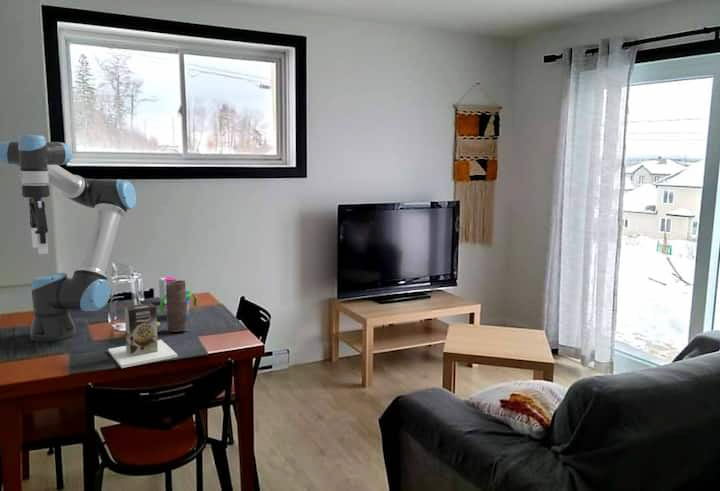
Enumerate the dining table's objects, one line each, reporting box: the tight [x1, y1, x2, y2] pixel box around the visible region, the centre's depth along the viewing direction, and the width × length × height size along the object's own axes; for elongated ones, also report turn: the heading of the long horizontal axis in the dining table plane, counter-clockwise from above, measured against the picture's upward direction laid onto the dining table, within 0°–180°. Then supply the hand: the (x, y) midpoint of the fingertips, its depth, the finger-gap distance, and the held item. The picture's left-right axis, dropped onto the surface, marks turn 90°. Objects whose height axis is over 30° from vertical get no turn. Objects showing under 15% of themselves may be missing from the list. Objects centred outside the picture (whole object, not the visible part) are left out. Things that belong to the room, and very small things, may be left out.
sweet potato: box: [166, 279, 188, 333], centre depth 216 cm, size 8×7×20 cm
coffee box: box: [124, 302, 158, 356], centre depth 191 cm, size 9×6×16 cm
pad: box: [107, 339, 178, 369], centre depth 192 cm, size 18×18×1 cm
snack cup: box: [159, 290, 198, 317], centre depth 236 cm, size 16×10×10 cm
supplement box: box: [158, 276, 177, 306], centre depth 256 cm, size 6×6×12 cm
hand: (40, 250), depth 181 cm, fingers open, 13 cm apart
